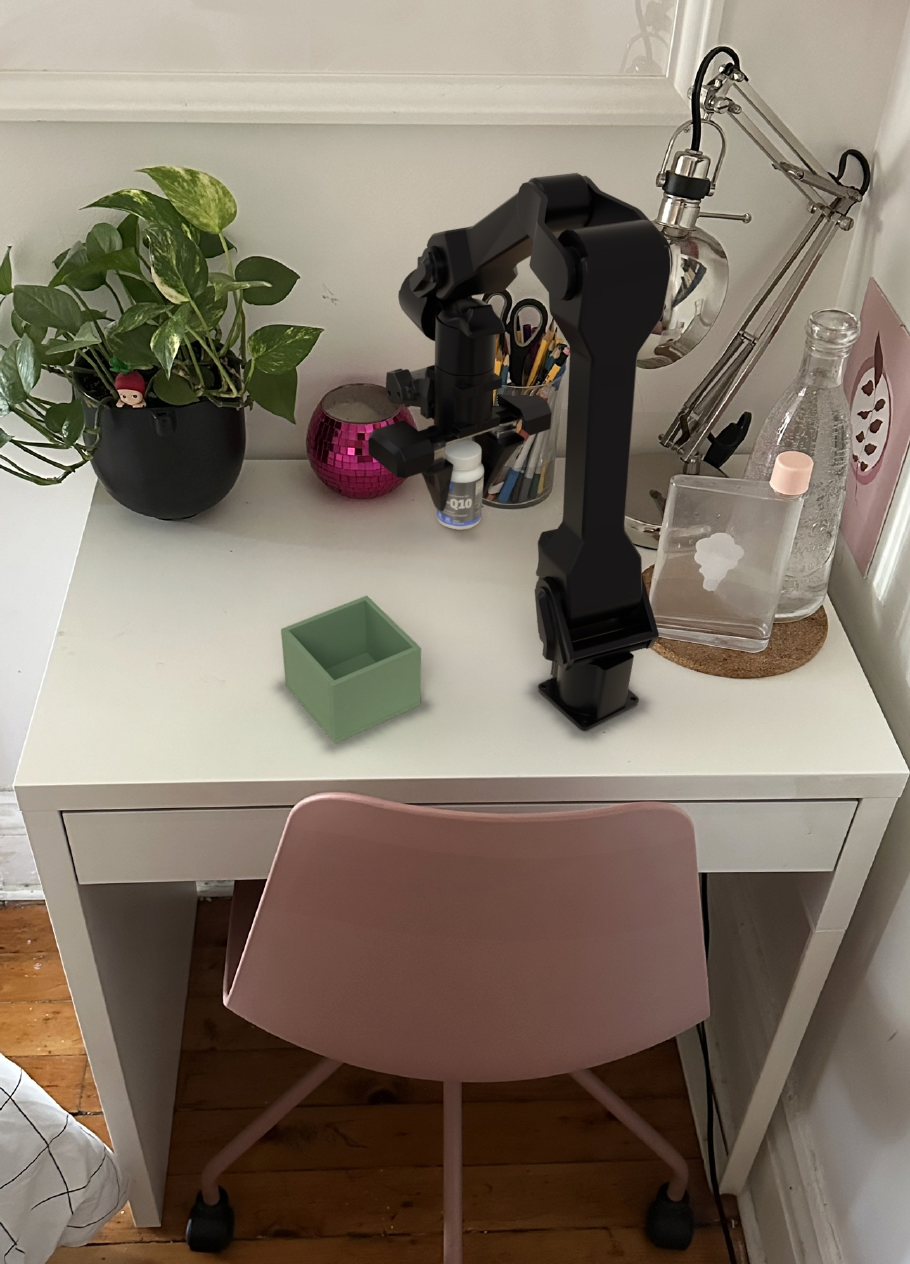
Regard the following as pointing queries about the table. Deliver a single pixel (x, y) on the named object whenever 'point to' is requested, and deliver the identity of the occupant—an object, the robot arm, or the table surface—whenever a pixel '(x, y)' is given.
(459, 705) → the table surface
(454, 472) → the pill bottle
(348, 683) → the waste bin
